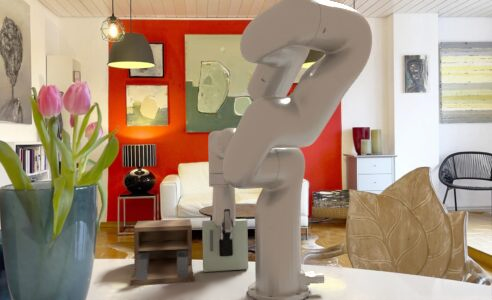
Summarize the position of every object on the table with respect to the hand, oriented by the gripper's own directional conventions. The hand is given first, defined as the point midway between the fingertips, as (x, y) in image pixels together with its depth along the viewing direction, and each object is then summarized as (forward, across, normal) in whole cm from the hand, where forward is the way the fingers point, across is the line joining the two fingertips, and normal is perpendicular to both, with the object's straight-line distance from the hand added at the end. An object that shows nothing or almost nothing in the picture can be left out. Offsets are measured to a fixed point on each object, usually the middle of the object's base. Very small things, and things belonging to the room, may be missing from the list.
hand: (225, 253), depth 103 cm
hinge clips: (+4, +4, -15) cm, 16 cm away
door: (+4, 0, 0) cm, 4 cm away
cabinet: (+4, -2, -15) cm, 16 cm away
